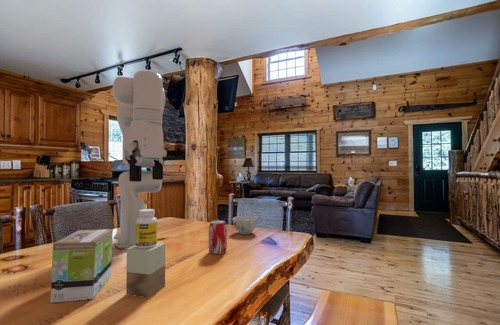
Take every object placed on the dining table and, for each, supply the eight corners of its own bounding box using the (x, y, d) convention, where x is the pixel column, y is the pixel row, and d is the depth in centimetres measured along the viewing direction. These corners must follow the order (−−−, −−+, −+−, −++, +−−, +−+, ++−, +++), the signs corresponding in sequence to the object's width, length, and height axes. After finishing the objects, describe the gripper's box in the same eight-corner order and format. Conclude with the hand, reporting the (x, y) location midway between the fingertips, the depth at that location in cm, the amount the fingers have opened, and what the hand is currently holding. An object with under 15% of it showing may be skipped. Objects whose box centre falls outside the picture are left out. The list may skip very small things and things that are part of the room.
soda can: (223, 255, 100) (223, 223, 100) (205, 254, 102) (206, 222, 102) (228, 250, 107) (229, 220, 107) (212, 248, 108) (212, 219, 109)
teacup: (229, 231, 138) (229, 216, 138) (251, 229, 143) (251, 214, 143) (239, 238, 124) (239, 221, 124) (263, 236, 129) (263, 219, 129)
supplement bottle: (136, 250, 69) (136, 212, 69) (134, 244, 73) (135, 209, 74) (158, 247, 71) (158, 210, 71) (155, 242, 76) (155, 207, 76)
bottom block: (126, 294, 70) (126, 271, 70) (143, 283, 76) (143, 262, 76) (149, 298, 68) (149, 274, 68) (165, 286, 75) (165, 264, 75)
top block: (126, 271, 70) (126, 248, 70) (143, 262, 76) (143, 241, 77) (149, 274, 68) (149, 251, 68) (165, 264, 75) (165, 243, 75)
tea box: (94, 300, 67) (95, 240, 67) (49, 304, 65) (50, 243, 65) (112, 276, 81) (113, 227, 82) (75, 278, 79) (76, 229, 80)
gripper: (154, 123, 82) (154, 178, 82) (112, 112, 66) (112, 182, 65) (176, 122, 80) (175, 179, 80) (139, 111, 64) (138, 182, 64)
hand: (147, 180), depth 73 cm, fingers open, 9 cm apart
